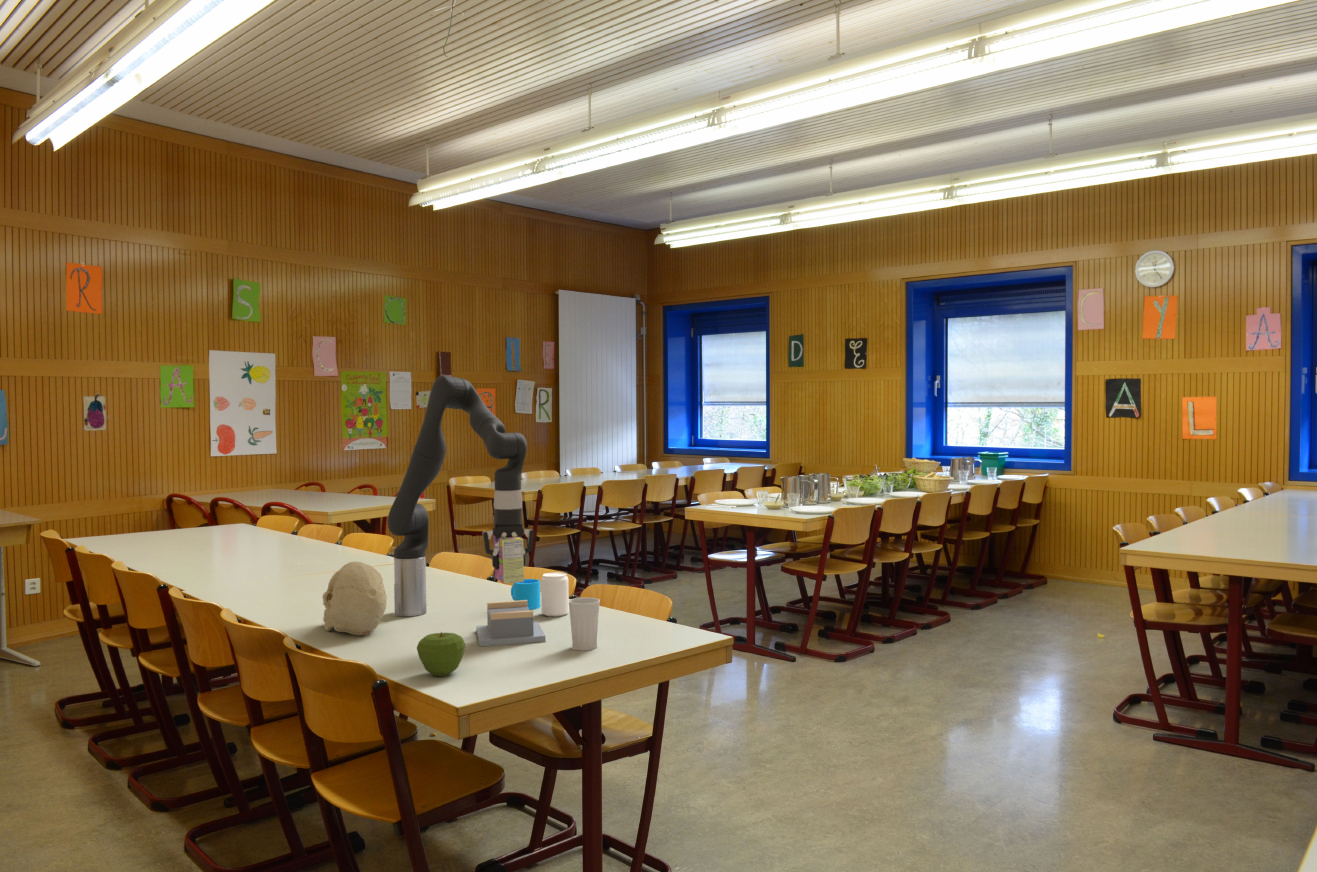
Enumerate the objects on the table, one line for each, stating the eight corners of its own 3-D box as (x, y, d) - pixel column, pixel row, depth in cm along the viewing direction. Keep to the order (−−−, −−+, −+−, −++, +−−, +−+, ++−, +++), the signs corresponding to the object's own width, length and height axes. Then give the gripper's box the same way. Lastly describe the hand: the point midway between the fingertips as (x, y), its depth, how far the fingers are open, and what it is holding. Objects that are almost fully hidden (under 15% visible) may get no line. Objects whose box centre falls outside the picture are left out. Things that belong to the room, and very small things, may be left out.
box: (494, 577, 242) (493, 534, 242) (514, 575, 245) (514, 533, 244) (502, 584, 233) (502, 539, 232) (524, 582, 235) (523, 538, 235)
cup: (588, 652, 221) (587, 605, 221) (562, 648, 226) (562, 601, 225) (606, 645, 228) (605, 599, 228) (581, 641, 232) (581, 596, 232)
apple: (469, 667, 210) (468, 625, 209) (460, 680, 199) (460, 636, 199) (423, 667, 209) (422, 626, 209) (412, 681, 199) (411, 637, 199)
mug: (545, 607, 275) (545, 581, 275) (524, 611, 269) (524, 584, 269) (522, 601, 284) (521, 576, 283) (501, 605, 278) (500, 580, 278)
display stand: (479, 646, 229) (479, 615, 228) (476, 631, 245) (475, 602, 245) (545, 641, 233) (545, 611, 233) (537, 626, 249) (537, 598, 249)
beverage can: (574, 613, 265) (573, 574, 265) (553, 618, 259) (553, 577, 259) (556, 609, 271) (556, 571, 271) (536, 614, 265) (535, 574, 265)
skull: (355, 617, 262) (356, 550, 260) (398, 636, 243) (398, 564, 242) (306, 625, 251) (306, 556, 250) (346, 646, 233) (347, 571, 232)
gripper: (481, 509, 233) (482, 572, 233) (536, 507, 236) (537, 569, 237) (480, 506, 240) (481, 567, 240) (533, 504, 244) (533, 564, 244)
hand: (508, 568), depth 239 cm, fingers closed on box, 6 cm apart
